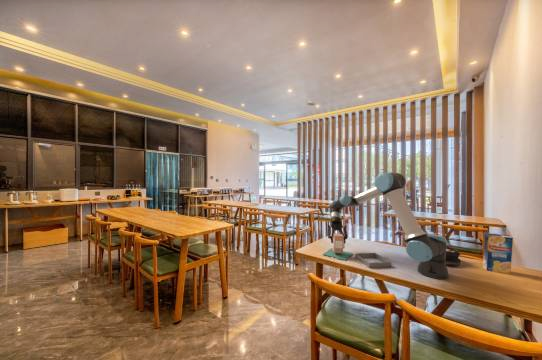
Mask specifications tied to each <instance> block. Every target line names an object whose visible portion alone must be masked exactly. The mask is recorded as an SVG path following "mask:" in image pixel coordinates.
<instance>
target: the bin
mask: <svg viewBox="0 0 542 360" xmlns="http://www.w3.org/2000/svg"><path fill="white" fill-rule="evenodd" d="M354 255H355V257H354V258H355V259H356V260H358V261H359V262H360V263H362V264H363V265H365V266H366V267H367V268H369V269H371V268H373V269H374V268H391V267H392V262H391V260H388V259H386V258H385V257H383V256H382V255H380V254H378V253H377V252H361V253H360V252H359V253H357V252H356V253H354ZM365 258H375V259H377V260H378V262H369V261H368V260H367V259H365Z"/></svg>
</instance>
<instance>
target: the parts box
mask: <svg viewBox="0 0 542 360" xmlns="http://www.w3.org/2000/svg"><path fill="white" fill-rule="evenodd" d="M344 236H345V235H344ZM344 236H343V235H342V234H340V233H334V235H333V238H334V243H335V247H334V248H333V247H332V249H333V251H334V253H343V251H344V249H343V239H344Z"/></svg>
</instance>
